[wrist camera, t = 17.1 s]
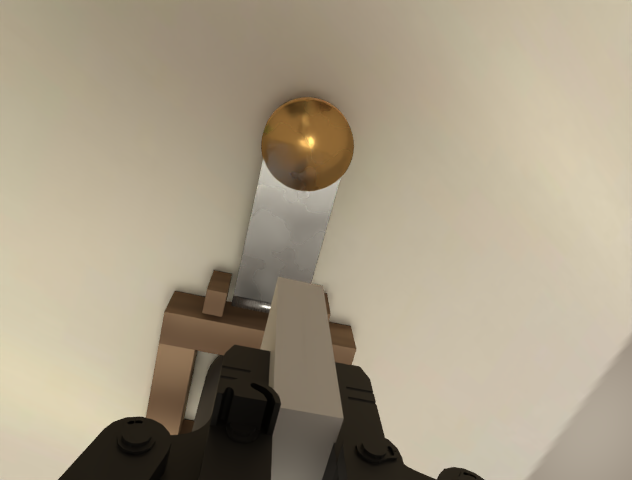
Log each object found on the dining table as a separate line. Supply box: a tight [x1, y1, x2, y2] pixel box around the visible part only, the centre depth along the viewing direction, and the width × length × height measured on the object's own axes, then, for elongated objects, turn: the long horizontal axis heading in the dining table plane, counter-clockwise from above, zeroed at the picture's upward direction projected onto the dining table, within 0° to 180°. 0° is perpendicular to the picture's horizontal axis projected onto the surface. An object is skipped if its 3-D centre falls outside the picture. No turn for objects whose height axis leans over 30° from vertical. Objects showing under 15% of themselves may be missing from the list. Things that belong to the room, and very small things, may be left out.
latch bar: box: [231, 97, 354, 313], centre depth 30 cm, size 14×5×1 cm, turn 166°
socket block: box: [146, 270, 356, 435], centre depth 35 cm, size 14×12×3 cm
